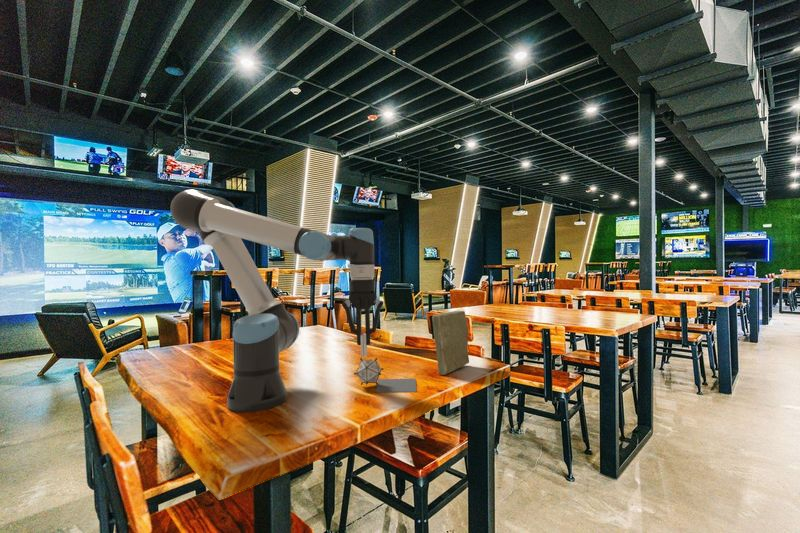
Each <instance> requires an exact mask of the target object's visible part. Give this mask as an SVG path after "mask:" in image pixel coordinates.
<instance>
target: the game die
mask: <svg viewBox="0 0 800 533" xmlns="http://www.w3.org/2000/svg"><path fill="white" fill-rule="evenodd" d="M359 359H360V363H359V365H358V368H357V371H356V372H354V373H353V375H355V376H356V375H357V377H358V378H359V380H360V382H361V383H360V385H361V386H362V385H363V384H366V385H369V384H376V386H377V385H378V379H380V378H379V377H380V375H382V373H381V371H384V368H381V366H380V364H379V362H378V357H375V359H371V358H370V359H363V358H362V357H359Z"/></svg>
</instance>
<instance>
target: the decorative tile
mask: <svg viewBox="0 0 800 533" xmlns="http://www.w3.org/2000/svg"><path fill="white" fill-rule="evenodd" d="M431 320H432V327H433V328H432V330H433V336H434V345H435V352H436V361H437V362H436V363H437V373H438V375H439V376H441V375H442V376H444V375H448V374H449V373H451V372H454V371H455V370H457V369H460V368H462V367H464V366H466V365H467V364H469V363H470V358H469V351H468V344H469V340H468V337H469V331H470V330H469V329H470V328H469V327H468V321H467V317H466V311H465V310H453V311H447V312H442V313H438V314H433V315H432V319H431Z"/></svg>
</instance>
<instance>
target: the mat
mask: <svg viewBox="0 0 800 533" xmlns="http://www.w3.org/2000/svg"><path fill="white" fill-rule="evenodd" d="M377 383H378V385H376V388H375V394H380V393H381V394H384V393H385V394H386V393H387V394H388V393H392V394H393V393H418V392H417V389H418V388H417V381H416V378H378V380H377Z"/></svg>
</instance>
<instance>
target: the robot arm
mask: <svg viewBox="0 0 800 533" xmlns="http://www.w3.org/2000/svg"><path fill="white" fill-rule="evenodd" d="M169 208H170V214H171V216H172V219H173V220H174V221H175V222H176V224H177V225H179V226H181V228H184V229H186V230H190V231H196V232H197V233H198V234H199V236H200V238H201V241H203V244H204V245H206V246H210V247H212V249H213V250H214V252H215V255H216V257H217V258H218V260H219V261H220V263H221V265H222V268H223V269H224V271H225V272H226V274H227V276H228V279H229V280H230V282H231V284H232V286H233V288H234V289H235V291H236V292H237V295H238V297H239V298H240V300H241V302H242V304H243V307H245V310H246V311H247V313H248V315H244V316H241V317H240V318H238V319H237V320H235V322H234V323H233V327H232V329H233V330H232V344H233V345H232V350H233V351H232V353H233V356H232V357H233V379H232V382H231V384H230V388H229V390H228V395H227V398H226V399H227V400H226V406H227V409H229V410H230V411H232V412H237V413H253V412H254V413H255V412H261V411H267V410H269V409H274V408H276V407H278V406H280V405H281V404H283V403H284V402H286V400H287V389H286V385H285V384H284V380H283V378H282V374H281V372H280V353H282V352H283V351H286V350H287V349H289V348H290V347H291V346H292V345H293V344H294V343H295V342H296V341H297V339H298V337H299V334H300V324H299V320H298V319H297V317H296V316H295V315H294V314H292V313H291V312H288V311H287V309H286V307H285V305H284V304H283V302H282V301H279V300H275V297H274V296H273V294H272V292H271V290H270V289H269V286H268V284H267V283H266V281H265V279H264V278H263V275H261V274H262V273H260V271H259V268H258V267H257V266H256V264H255V261H254V260H253V258H252V255H251V254H250V253H249V250H248V248H247V247H246V245H245V243H244V242H243V240H247V241H250V242H253V243H256V244H257V243H258V244H260V245H264V246H268V247H271V248H275V249H277V250H281V251H285V252H288V253H292V254H295V255H298V256H302V257H305V258H306V259H309V260H312V261H319V262H321V261H322V262H324V261H338V260H339V261H346V260H349V278H350V281H349V288H350V291H349V296H348V298H347V300H345V301H342V302H341V306H342V307H343V309H344V310H345V315H346V318H347V322H348V326H349V331H350V333H352V334H355V336H356V345H357V346H360V358H362V357H363V358H366V357H367V356H368V346H371V345H370V344H371V334H373V333H376V331H377V327H378V322H379V317H380V312H381V309H382V307H383V305H384V300H381V299H379V298H378V297H377V294H376V282H375V279H374V278H375V242H374V232H373V229H371V228H368V227H356V228H355V227H354V228H350V229H349V230H348V234H347V235H330V234H326V233H324V232H321V231H318V230H313V229H310V228H305V227H303V226H298V225H295V224H293V223H292V224H291V223H288V222H286V221H285V222H284V221H282V220H278V219H274V218H270V217H268V216H264V215H260V214H258V213H257V214H256V213H253V212H249V211H247V210H243V209H240V208H236V207H235V205H234V204H233V203H232V202H230V201H228V200H227V199H225V198H224V197H221V196H216V195H213V194H210V193H207V192H204V191H201V190H196V189H185V190H184V191H180V192H179V193H177V194H176V195H175V196H174V198H173V199H172V200H171V203H170V207H169ZM351 304H352V306H353V308H355V311H356V312H355V314H356V317H355V318H356V326H355V322H354V317H353V314H352V309H351ZM374 304H375V306H376V308H375V313H374V318H373V321H372V322H373V323H372V327H371V315H370V314H371V311H370V310H371V307H372V306H373V305H374ZM362 310H364V317H365V318H364V319H365V321H364V322H365V324H364V325H365V333H362V332H363V331H362Z"/></svg>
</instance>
